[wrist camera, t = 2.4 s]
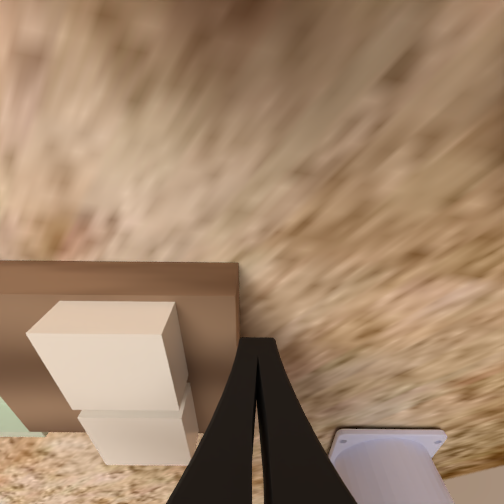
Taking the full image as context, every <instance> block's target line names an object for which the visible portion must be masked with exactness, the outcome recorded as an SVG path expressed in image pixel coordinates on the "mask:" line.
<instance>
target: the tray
mask: <svg viewBox="0 0 504 504" xmlns="http://www.w3.org/2000/svg"><path fill="white" fill-rule="evenodd" d="M47 434H48V432H29V430H28V429H27V428H26V427H25V425H24V424H23V423H22V422H21V421H20V419H19V418H18V417H17V416H16V415H15V413H14V412H13V411H12V410H11V409H10V407H9V406H8V405H7V404H6V403H5V401H4V400H3V399H2V398H1V397H0V437H46V435H47Z"/></svg>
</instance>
